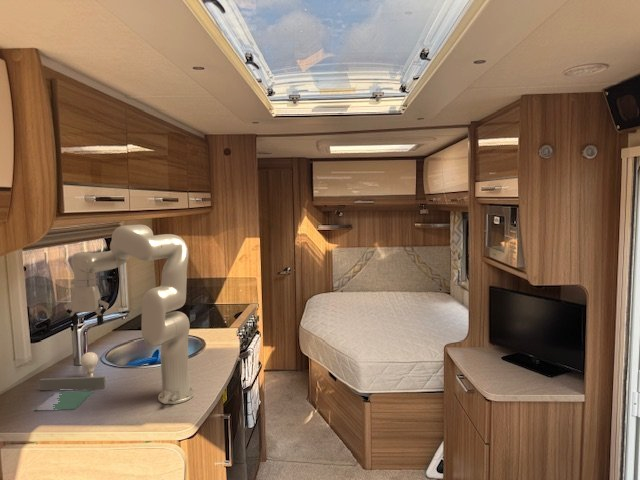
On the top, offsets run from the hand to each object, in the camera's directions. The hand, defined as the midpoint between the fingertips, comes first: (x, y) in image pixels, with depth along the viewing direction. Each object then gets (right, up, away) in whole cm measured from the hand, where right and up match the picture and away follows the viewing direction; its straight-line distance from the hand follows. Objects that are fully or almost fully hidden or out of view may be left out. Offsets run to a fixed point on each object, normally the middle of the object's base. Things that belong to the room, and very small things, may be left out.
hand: (87, 324), depth 175 cm
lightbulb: (0, -23, +2) cm, 23 cm away
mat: (+1, -24, -18) cm, 30 cm away
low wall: (-1, -23, -8) cm, 25 cm away
